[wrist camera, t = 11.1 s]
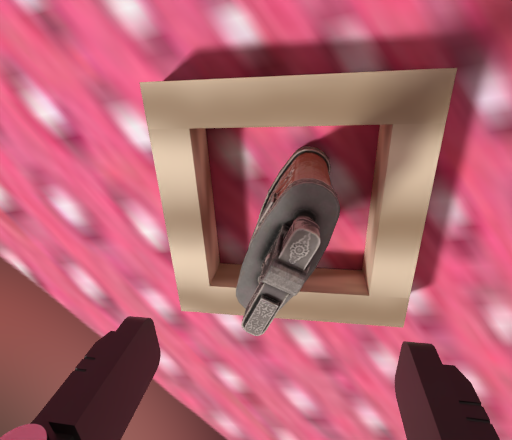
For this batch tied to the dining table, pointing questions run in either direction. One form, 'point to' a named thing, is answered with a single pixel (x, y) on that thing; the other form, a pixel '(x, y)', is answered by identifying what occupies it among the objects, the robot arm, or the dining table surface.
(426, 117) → the square beige frame
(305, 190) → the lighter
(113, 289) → the dining table surface
